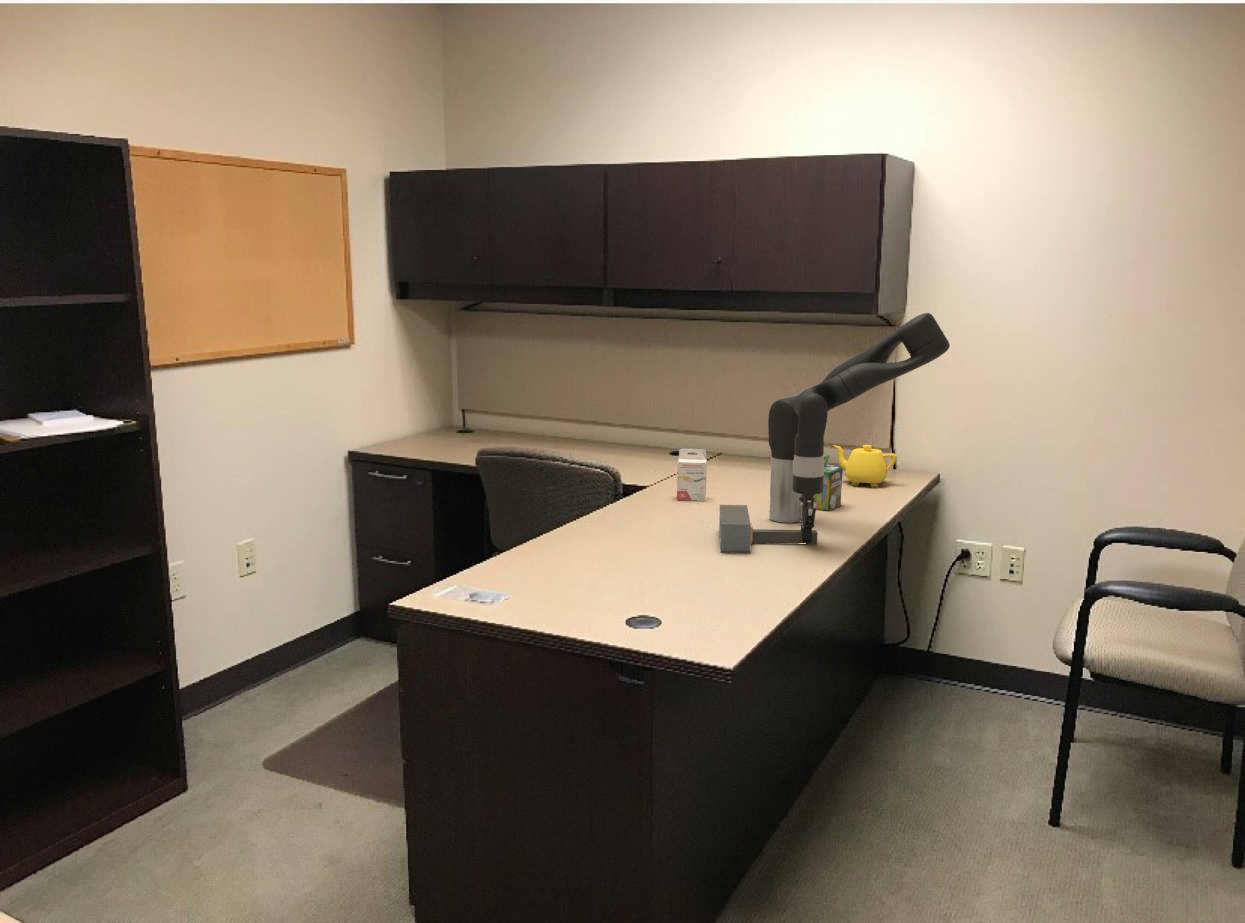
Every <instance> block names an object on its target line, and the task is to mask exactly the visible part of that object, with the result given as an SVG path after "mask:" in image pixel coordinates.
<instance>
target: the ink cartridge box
mask: <svg viewBox="0 0 1245 923" xmlns="http://www.w3.org/2000/svg"><path fill="white" fill-rule="evenodd" d="M689 453H694V454H689ZM677 460H678V461H677V472H676V474H677V475H676V476H677V479H676V500H677V501H686V500H697V501H696V502H706V499H707V498H706V496H707V464H708V463H707V462H708V460H707V450H706V449H699V448H698V449H697V448H680V449H678V459H677Z"/></svg>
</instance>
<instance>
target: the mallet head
mask: <svg viewBox="0 0 1245 923" xmlns="http://www.w3.org/2000/svg"><path fill="white" fill-rule="evenodd" d="M718 518H719V523H718V524H719V526H718V531H719V532H718V534H719V535H718V536H719V539H720V540H719V542H720V543H719V546H720V548H721V549H720V553H729V552H750V553H751V544H750V532H751V524H750V523H751V519H750V514H749V509H748V505H746V504H719V517H718Z"/></svg>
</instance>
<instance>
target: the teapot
mask: <svg viewBox="0 0 1245 923" xmlns="http://www.w3.org/2000/svg"><path fill="white" fill-rule="evenodd" d="M832 446H833V447H835V449H836V450H837V453H838V463H839V466H840V467H843V471H844V473H845V476H846V479H847V480H848V481H850V482H851V483H850V486H853V487H858V485H860V483H861V484H862V483H863V484H864V483H866V484H869V485H870V486H871V488H879V484H881V483H882V482H884V481H885V480H886V478H887V476H888V472H889V471H890V469H891V468H892V467H893V466H894V465H895V463H896V462H897V459H898V455H897V454H896V453H892V452H891V453H883V451H882V450H881V449H878V448H872V447H873V445H870V444H863V445H862V447H857V448H854V449H853V450H852V452H851V453H850V455H849V457H848V459H846V458H845V456H844V450H843V448H842V447H841V446H839V445H836V444H833V445H832ZM885 457H886V458H887V457H889V458H890V462H889V463H888V465H887V461H886V458H885ZM877 483H878V484H877Z"/></svg>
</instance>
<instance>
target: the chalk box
mask: <svg viewBox="0 0 1245 923" xmlns="http://www.w3.org/2000/svg"><path fill="white" fill-rule="evenodd" d="M823 458H824V483H823V492H822V493H820V494H815V495H814V498H815V501H816V508H815V509H816V510H821V511H827V512H830V511H831V510H833V509H835V508H838V507H839V506H841V505H842V486H843V485H842V484H843V471H844V470H843V467H841V466H840V465H831V464H828V461H829V458H830V454H827V455H825V456H823Z"/></svg>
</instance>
